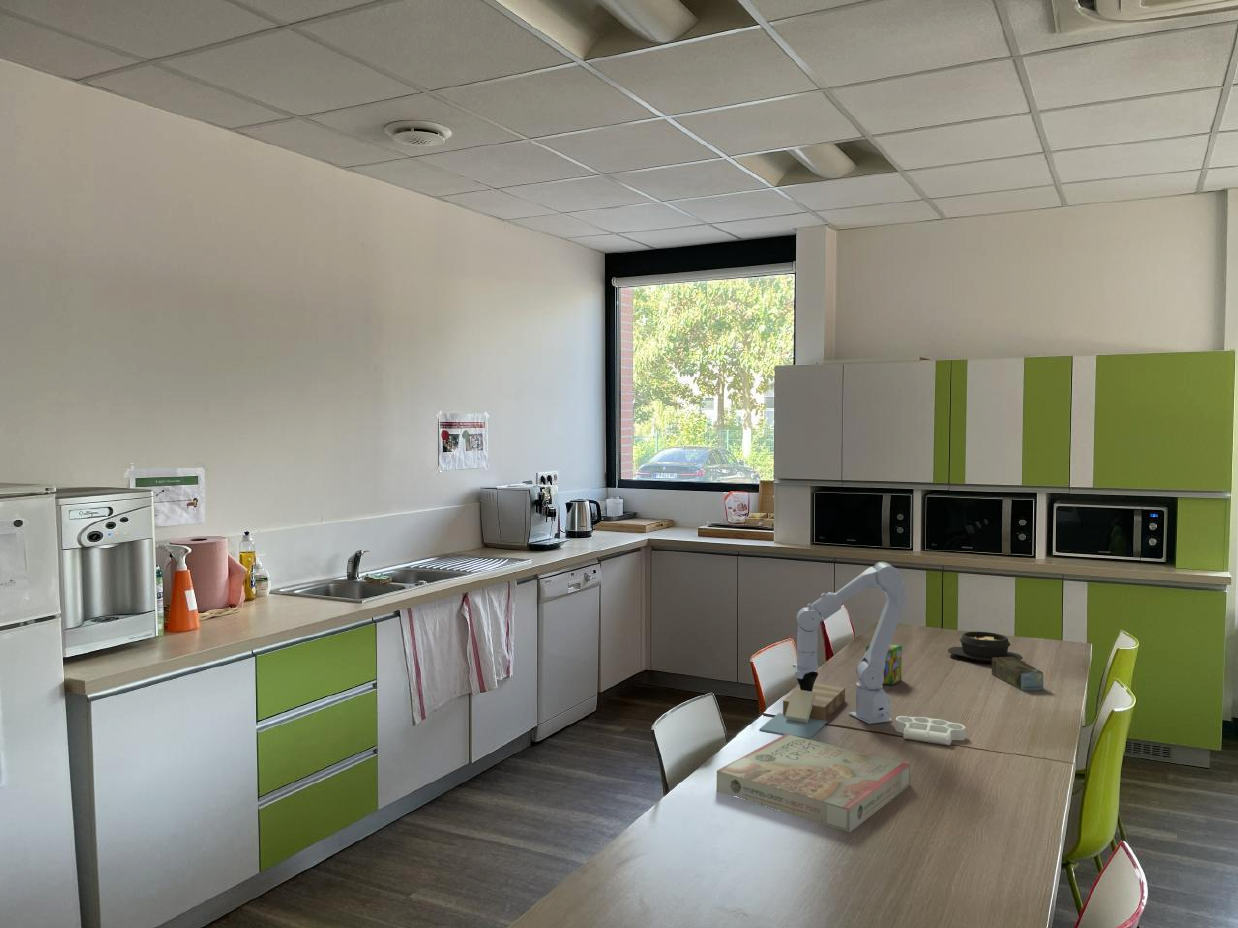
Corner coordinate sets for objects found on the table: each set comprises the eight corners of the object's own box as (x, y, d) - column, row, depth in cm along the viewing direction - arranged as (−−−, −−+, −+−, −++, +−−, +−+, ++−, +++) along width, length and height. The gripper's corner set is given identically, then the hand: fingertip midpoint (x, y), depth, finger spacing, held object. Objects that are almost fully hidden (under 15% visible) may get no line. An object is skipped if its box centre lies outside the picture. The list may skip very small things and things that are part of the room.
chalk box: (892, 686, 288) (893, 640, 288) (864, 681, 294) (865, 635, 293) (902, 679, 296) (903, 635, 295) (875, 675, 301) (876, 631, 301)
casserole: (943, 660, 321) (944, 637, 321) (951, 649, 338) (951, 627, 337) (1020, 669, 310) (1021, 645, 309) (1024, 657, 326) (1024, 634, 326)
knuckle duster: (890, 739, 239) (897, 723, 253) (963, 750, 232) (966, 733, 245) (890, 727, 239) (898, 711, 252) (963, 737, 232) (967, 721, 245)
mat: (778, 714, 259) (778, 712, 259) (826, 722, 252) (826, 720, 252) (759, 730, 245) (759, 728, 245) (809, 739, 238) (809, 737, 238)
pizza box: (849, 808, 183) (716, 770, 203) (849, 834, 183) (716, 793, 203) (910, 764, 208) (786, 733, 228) (909, 787, 208) (785, 754, 228)
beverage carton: (1020, 691, 284) (1020, 670, 284) (989, 674, 304) (990, 655, 303) (1044, 690, 285) (1044, 670, 285) (1012, 674, 304) (1013, 655, 304)
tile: (794, 692, 259) (793, 688, 257) (815, 696, 256) (814, 691, 254) (786, 719, 253) (785, 715, 252) (807, 723, 250) (806, 718, 249)
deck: (806, 694, 278) (806, 681, 278) (845, 700, 272) (845, 687, 272) (782, 714, 259) (783, 700, 258) (824, 721, 253) (824, 707, 253)
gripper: (801, 643, 266) (800, 689, 266) (785, 654, 253) (784, 702, 254) (825, 646, 262) (824, 692, 263) (809, 657, 250) (809, 706, 250)
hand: (806, 697), depth 258 cm, fingers closed
